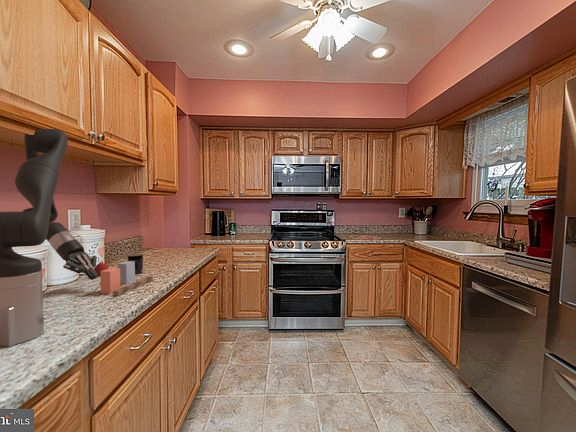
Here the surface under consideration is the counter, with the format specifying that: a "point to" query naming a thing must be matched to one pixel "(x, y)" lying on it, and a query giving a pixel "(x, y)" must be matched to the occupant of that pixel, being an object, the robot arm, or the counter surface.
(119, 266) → the grey rectangular block
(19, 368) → the counter surface
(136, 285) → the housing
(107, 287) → the orange rectangular block
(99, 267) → the onion
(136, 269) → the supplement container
